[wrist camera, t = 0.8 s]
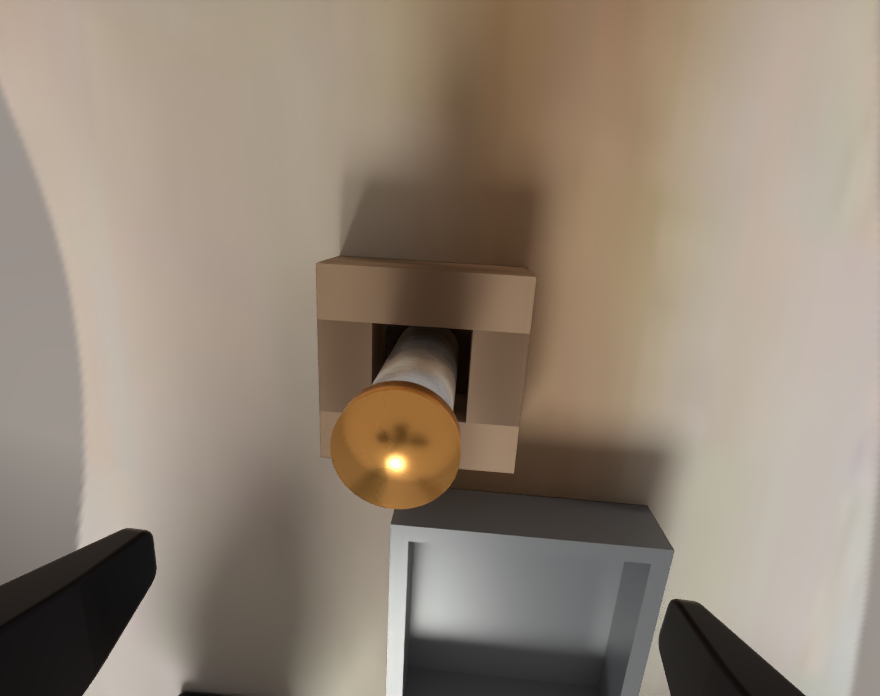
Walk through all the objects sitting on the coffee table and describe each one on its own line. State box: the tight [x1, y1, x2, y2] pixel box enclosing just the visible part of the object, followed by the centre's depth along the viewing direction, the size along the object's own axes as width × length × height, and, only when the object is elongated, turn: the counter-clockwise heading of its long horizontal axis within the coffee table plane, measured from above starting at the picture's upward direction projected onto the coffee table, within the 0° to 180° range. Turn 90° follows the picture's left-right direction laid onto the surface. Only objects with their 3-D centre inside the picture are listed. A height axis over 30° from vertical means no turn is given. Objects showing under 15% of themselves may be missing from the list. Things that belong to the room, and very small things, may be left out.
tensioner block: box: [316, 256, 536, 473], centre depth 19 cm, size 8×8×3 cm
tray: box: [386, 489, 674, 696], centre depth 22 cm, size 12×12×3 cm
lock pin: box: [330, 326, 461, 509], centre depth 16 cm, size 3×3×9 cm
